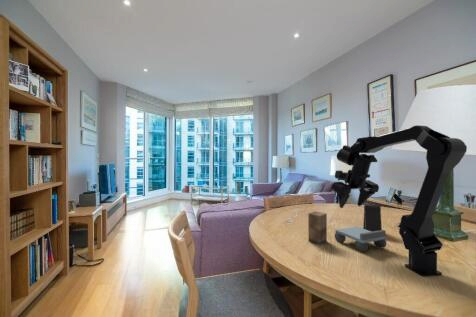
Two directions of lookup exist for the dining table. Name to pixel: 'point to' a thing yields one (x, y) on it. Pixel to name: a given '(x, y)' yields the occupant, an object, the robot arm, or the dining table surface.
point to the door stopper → (372, 218)
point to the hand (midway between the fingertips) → (350, 206)
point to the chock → (317, 227)
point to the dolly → (362, 237)
